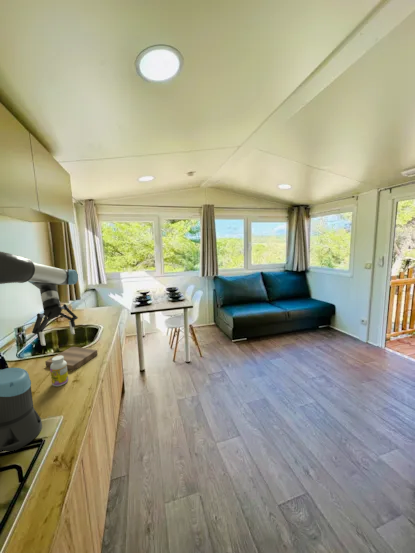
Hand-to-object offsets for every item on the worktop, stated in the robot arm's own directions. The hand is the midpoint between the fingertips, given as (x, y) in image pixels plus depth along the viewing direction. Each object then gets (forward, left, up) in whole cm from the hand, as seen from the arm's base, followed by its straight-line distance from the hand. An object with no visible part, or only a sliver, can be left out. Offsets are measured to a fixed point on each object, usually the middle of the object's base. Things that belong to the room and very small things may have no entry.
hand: (58, 339), depth 115 cm
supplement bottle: (-5, -4, -20) cm, 21 cm away
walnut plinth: (+14, +7, -20) cm, 25 cm away
